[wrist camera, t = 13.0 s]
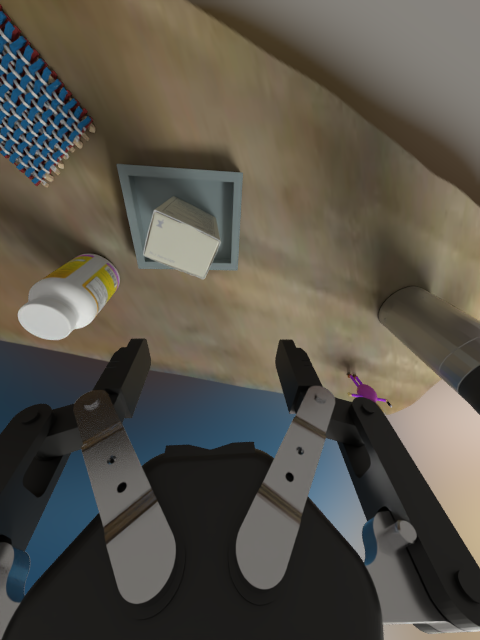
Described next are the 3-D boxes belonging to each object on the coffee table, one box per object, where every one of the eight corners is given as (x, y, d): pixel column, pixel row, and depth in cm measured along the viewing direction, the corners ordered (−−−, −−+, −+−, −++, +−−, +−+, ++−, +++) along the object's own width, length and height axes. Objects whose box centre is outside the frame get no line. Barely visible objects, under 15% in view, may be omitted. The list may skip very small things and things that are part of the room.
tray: (240, 172, 28) (242, 172, 25) (236, 264, 34) (237, 270, 32) (124, 164, 26) (116, 163, 24) (143, 262, 33) (138, 268, 31)
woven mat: (-60, 92, 22) (-83, 86, 20) (-4, -4, 19) (-25, -20, 17) (47, 191, 27) (36, 192, 25) (103, 128, 24) (95, 124, 23)
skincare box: (163, 227, 30) (138, 256, 20) (173, 193, 28) (151, 206, 18) (206, 247, 32) (203, 282, 22) (219, 217, 30) (222, 241, 20)
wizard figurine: (330, 374, 52) (358, 422, 42) (338, 365, 51) (368, 412, 41) (366, 381, 55) (400, 427, 45) (375, 373, 54) (411, 418, 44)
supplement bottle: (66, 277, 33) (-4, 328, 22) (82, 242, 30) (12, 281, 20) (111, 300, 36) (68, 355, 25) (129, 270, 33) (90, 317, 23)
